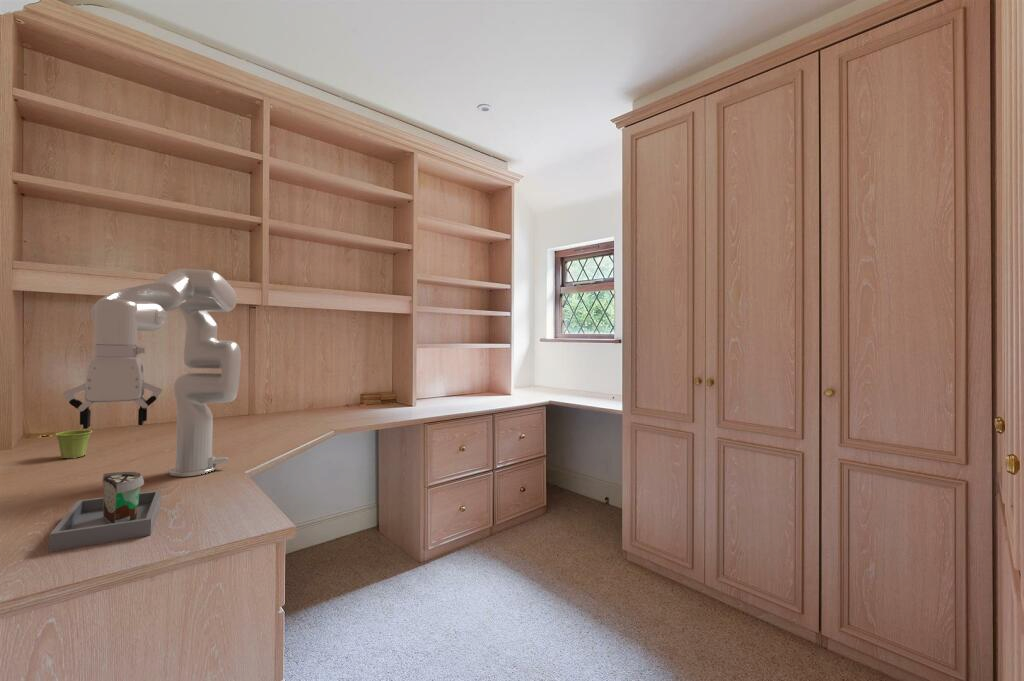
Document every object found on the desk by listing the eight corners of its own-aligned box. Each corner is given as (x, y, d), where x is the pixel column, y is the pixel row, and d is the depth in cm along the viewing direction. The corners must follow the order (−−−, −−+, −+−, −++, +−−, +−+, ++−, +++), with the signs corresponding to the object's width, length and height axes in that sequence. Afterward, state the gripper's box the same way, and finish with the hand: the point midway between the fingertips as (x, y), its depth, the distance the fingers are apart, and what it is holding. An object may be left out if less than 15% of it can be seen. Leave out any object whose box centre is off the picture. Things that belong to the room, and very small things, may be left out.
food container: (150, 521, 106) (151, 478, 106) (116, 529, 101) (117, 484, 101) (134, 508, 113) (135, 468, 113) (101, 515, 108) (102, 473, 108)
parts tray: (160, 503, 119) (161, 490, 119) (150, 535, 100) (151, 519, 100) (77, 515, 110) (77, 500, 110) (49, 551, 92) (49, 534, 92)
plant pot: (51, 457, 159) (52, 432, 159) (87, 452, 167) (88, 428, 167) (58, 462, 154) (59, 436, 154) (95, 456, 162) (95, 432, 162)
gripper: (164, 352, 114) (162, 420, 114) (69, 351, 105) (67, 426, 105) (161, 353, 108) (159, 425, 108) (60, 353, 99) (58, 432, 99)
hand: (114, 426), depth 107 cm, fingers open, 9 cm apart
